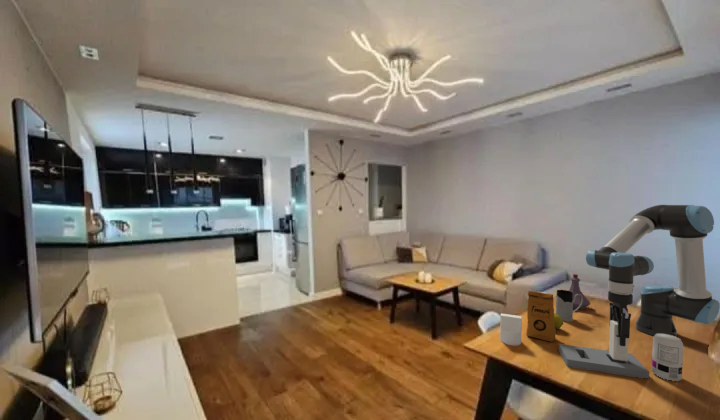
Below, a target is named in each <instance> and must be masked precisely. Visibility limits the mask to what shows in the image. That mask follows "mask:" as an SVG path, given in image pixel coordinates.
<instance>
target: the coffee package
mask: <svg viewBox="0 0 720 420" xmlns="http://www.w3.org/2000/svg"><path fill="white" fill-rule="evenodd" d="M527 296H528V297H527V308H526V309H527V310H526V311H527V313H526V314H527V324H526V325H527V327H526V331H525V332H526V336H527V337H531V338H535V339H538V340H542V341H545V342H546V341H547V342H551V343H554V340H556V335H557V334H556V332H557V329H556V326H555V323H554V313H555V308H554V295H553V293H546V292H539V291H533V290H528V291H527Z"/></svg>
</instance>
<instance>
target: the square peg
mask: <svg viewBox="0 0 720 420" xmlns="http://www.w3.org/2000/svg"><path fill="white" fill-rule="evenodd" d="M609 323H610V326H609V336H608V337H609V344H608V351H609V355H610V356H611V357H612V358H613V359H615V360H622V361H627V358H628V353H629V352H628V350H629V338H626V354H621V353H617V352H616V351H617V337H616V335H618V321H613V320H610V319H609Z"/></svg>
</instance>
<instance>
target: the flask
mask: <svg viewBox="0 0 720 420" xmlns="http://www.w3.org/2000/svg"><path fill="white" fill-rule="evenodd" d="M572 276H573V277H571V278H570V281H571V285H570V287H569V289H568V290H567V291H571V292H573V301H574V297H575V295H576V294H580V295H577V296H576V298H575V301H574V302H573V310H576V309H577V308H578V307H579V306H580V304H581V301H582V297H581V295H582V296H583V302H582V305H581V307H580V308H579V309H578V310H577V311H581V310H584V309H586V308H587V307H588V306H590V305H591V301H590V300H589V299H588V298H587V297H586V296H585V295H584V293H583V292H582V291H581V287H580V281H581V279H580V278H579V277H578V276H579V275H578V274H577V273H574V274H573V273H572Z"/></svg>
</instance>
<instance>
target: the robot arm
mask: <svg viewBox="0 0 720 420" xmlns="http://www.w3.org/2000/svg"><path fill="white" fill-rule="evenodd" d="M714 219H715V218H714V215H713V213H712V211H711V210H710V209H708V208H707V207H706V206H704V205H694V204H658V205H654V206H650V207H647V208H645V209H643V210H641V211H639V212H637V213H636V214H634V215H633V216H632V217H631V218H630V219H629V223H628V224H627V225H626V226H625V227H624V228H622V229H621V230H620V231H618V233H616V235H614V236H613V237H612V238H611V239H610V240H609V241H608V242H607V243H605V244H604V245H603V246H602V247H601V248H599V250H597V249H595V250H593V249H591V250H588V251H587V253H586V254H585V261H586V263H587V266H590V267H594V268H597V269H602V270H607V271H608V280H607V282H608V283H607V284H608V285H607V290H608V291H607V293H608V294H607V299H608V301H610V302H609V321H610V320H613V321H618V335H616V337H617V351H616V352H617V353H621V354H626V338H628V339H630V332H631V330H630V329H631V318H632V313H629V309H628V305H629V306H630V305H632V304H633V302H634V301H633V300H634V296H633V292H634V288H635V284H634V277H635V276H644V275H647V274H650V273H651V272H653V271H654V268H655V265H654V264H655V263H654V261H653V260H652V259H651V258H649V257H648V256H646V255H645V256H644V255H633V254H631V253H629V252H628V251H629V250H630V249H631V248H632V247H633V246H635V245H636V244H637V242H639V241H640V240H641V239H642V238H643V237H644V236H645V235H646V234H651V233H653V231H656V230H657V231H658V230H662V231H663V230H664V231H669V236H670V237H671V238H673V239H674V241H675V242H674V243H675V254H676V255H675V256H676V264H677V265H676V266H677V267H676V269H677V279H678V280H677V281H678V288H676V289H675V288H674V287H673V286H670V285H663V284H662V285H661V284H646V285H643V286H642V287H641V292H640V314H639V316H638V317H637V320H636V321H635V329H636V330H637V331H640V332H641V333H644V334H646V335H650V336H653V337H654V336H655V334H657V333H663V334H669V335H672V336H676V337H677V336H678V331H677V328H676V325H675V323H674V320H673V317H677V318H681V319H685V320H688V321H691V322H695V323H699V324H703V325H709V324H712V323H713V322H714V321H715V320H716V319H717V317H718V314H719V312H720V302H719V300H717V299H715V298H713V294H712V292H711V291H709V290H707V281H706V280H707V279H706V269H705V267H706V266H705V255H704V253H705V252H704V244H703V243H704V241H703V239H706V237H708V234H709V233H711V232H713V230H714V225H715V220H714ZM608 323H609V325H608V326H609V327H610V322H608Z"/></svg>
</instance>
